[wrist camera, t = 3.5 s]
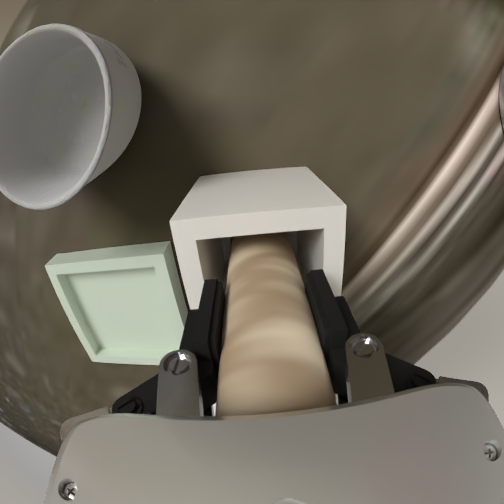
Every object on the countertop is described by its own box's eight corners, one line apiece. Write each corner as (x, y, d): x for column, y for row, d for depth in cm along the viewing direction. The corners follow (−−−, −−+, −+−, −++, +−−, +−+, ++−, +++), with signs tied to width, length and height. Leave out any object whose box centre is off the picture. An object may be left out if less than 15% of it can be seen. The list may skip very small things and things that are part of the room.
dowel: (281, 198, 20) (352, 400, 6) (284, 244, 22) (333, 454, 8) (230, 202, 20) (200, 413, 6) (236, 248, 22) (225, 463, 8)
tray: (170, 240, 22) (163, 253, 20) (198, 348, 28) (196, 364, 26) (56, 254, 23) (44, 265, 21) (99, 347, 28) (92, 361, 26)
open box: (306, 166, 20) (346, 205, 12) (308, 259, 23) (336, 336, 15) (200, 176, 20) (169, 221, 12) (214, 268, 24) (201, 348, 16)
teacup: (175, 50, 16) (135, 18, 9) (140, 190, 20) (92, 232, 13) (32, 48, 14) (-31, 43, 7) (13, 163, 18) (-47, 190, 11)
